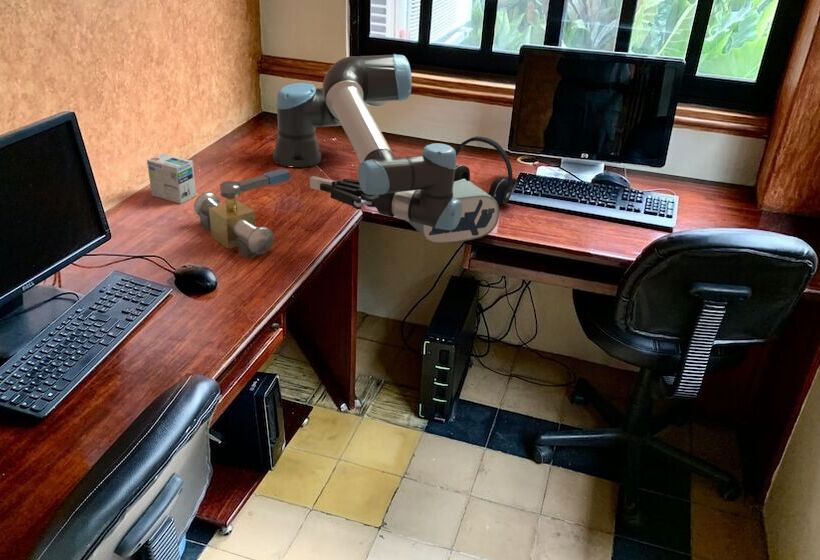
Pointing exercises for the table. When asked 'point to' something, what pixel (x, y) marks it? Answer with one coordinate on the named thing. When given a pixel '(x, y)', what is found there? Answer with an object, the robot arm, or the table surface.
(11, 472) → the table surface
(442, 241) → the grey rounded block
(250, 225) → the valve body
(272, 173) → the lever
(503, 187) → the headphones
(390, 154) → the robot arm
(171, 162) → the light bulb box
